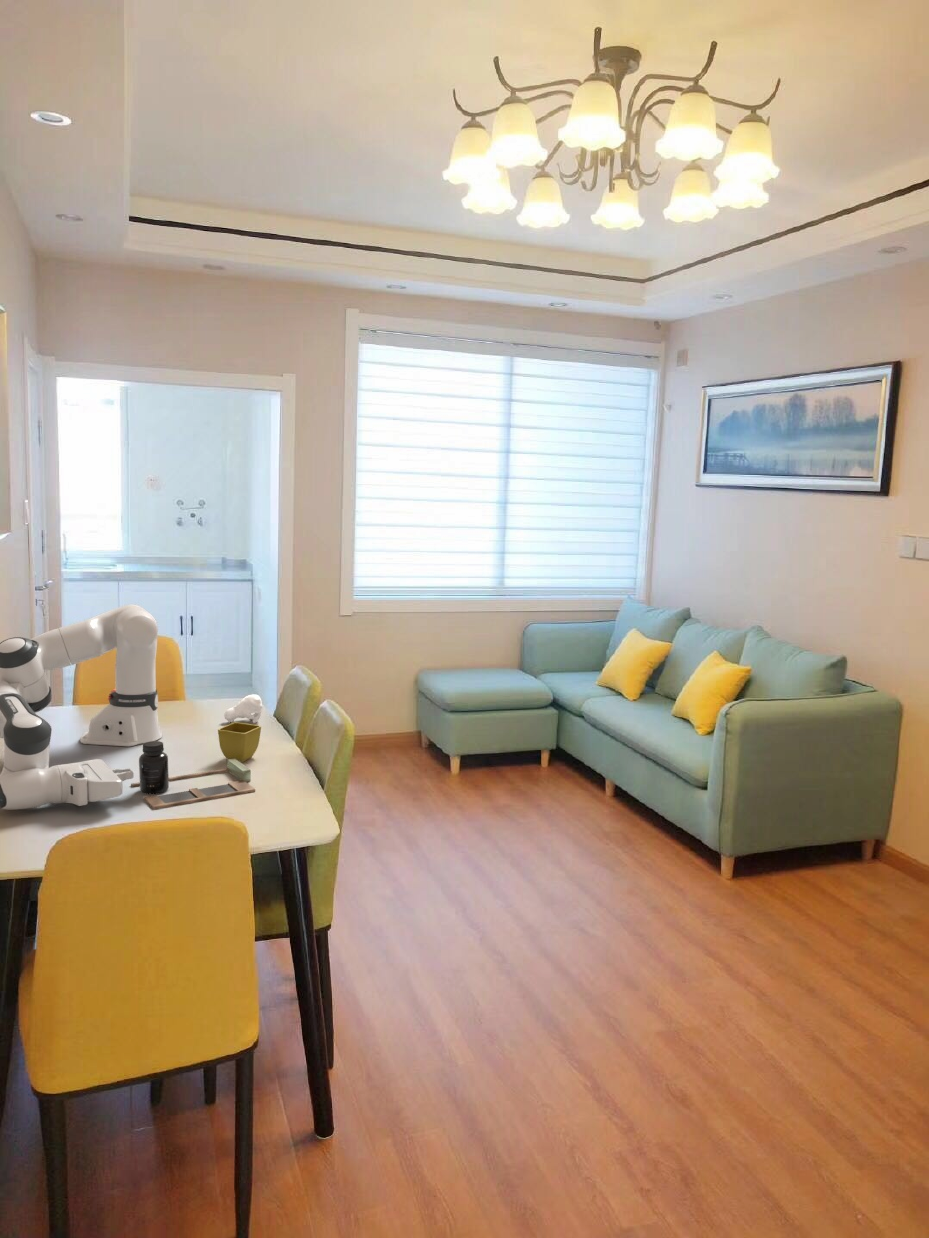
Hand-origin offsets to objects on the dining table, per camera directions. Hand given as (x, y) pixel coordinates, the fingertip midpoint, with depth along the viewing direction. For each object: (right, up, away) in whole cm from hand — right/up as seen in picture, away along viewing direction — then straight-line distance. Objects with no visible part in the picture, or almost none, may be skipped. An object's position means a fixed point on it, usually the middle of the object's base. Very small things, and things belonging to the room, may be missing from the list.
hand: (132, 773), depth 222 cm
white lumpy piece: (+10, +4, +69) cm, 70 cm away
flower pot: (+18, -2, +31) cm, 37 cm away
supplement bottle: (+4, -5, +4) cm, 8 cm away
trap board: (+14, -5, +6) cm, 16 cm away
